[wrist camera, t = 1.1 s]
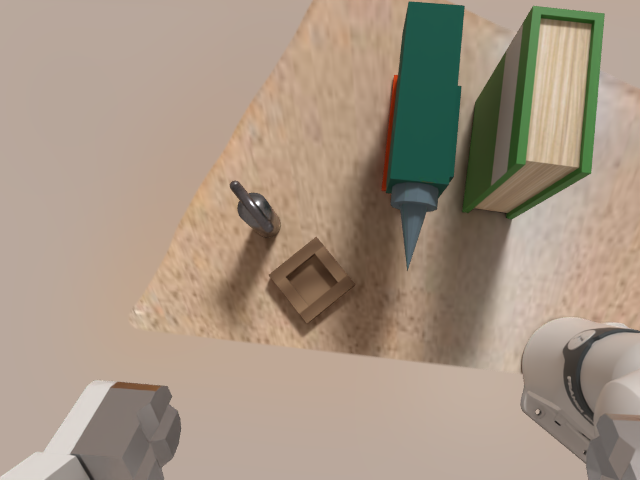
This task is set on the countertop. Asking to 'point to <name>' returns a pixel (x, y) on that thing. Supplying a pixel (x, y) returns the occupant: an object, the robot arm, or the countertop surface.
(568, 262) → the countertop surface
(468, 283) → the countertop surface
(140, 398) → the robot arm
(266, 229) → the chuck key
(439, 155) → the power tool
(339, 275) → the brown square frame
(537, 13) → the hardback book
